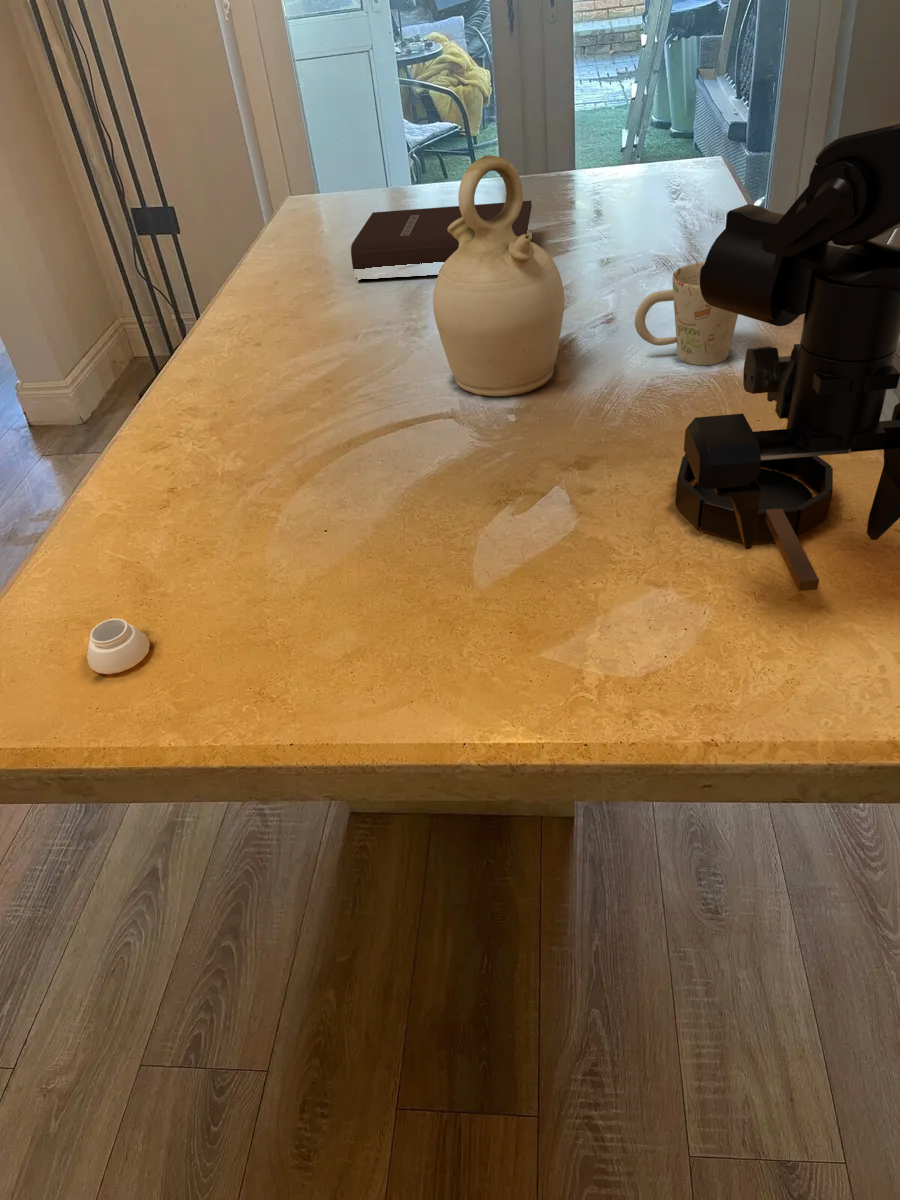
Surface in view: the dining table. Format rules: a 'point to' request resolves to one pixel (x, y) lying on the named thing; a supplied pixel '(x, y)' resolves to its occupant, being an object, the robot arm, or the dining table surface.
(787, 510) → the frying pan
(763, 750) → the dining table surface
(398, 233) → the book
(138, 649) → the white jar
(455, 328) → the jug
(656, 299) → the mug
